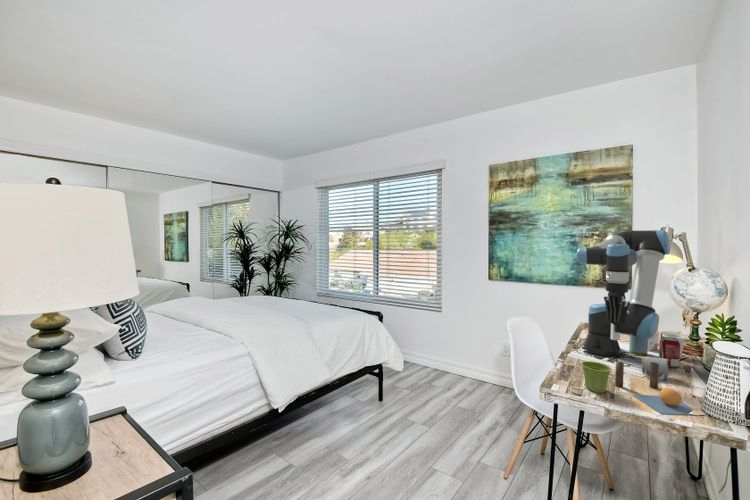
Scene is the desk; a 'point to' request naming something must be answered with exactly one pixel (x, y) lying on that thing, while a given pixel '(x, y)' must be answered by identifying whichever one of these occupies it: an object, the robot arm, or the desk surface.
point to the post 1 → (619, 374)
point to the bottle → (638, 345)
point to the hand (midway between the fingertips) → (615, 339)
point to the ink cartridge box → (653, 342)
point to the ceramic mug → (662, 367)
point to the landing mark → (664, 405)
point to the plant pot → (596, 375)
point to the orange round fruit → (670, 397)
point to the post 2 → (654, 375)
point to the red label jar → (680, 340)
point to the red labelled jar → (670, 351)
